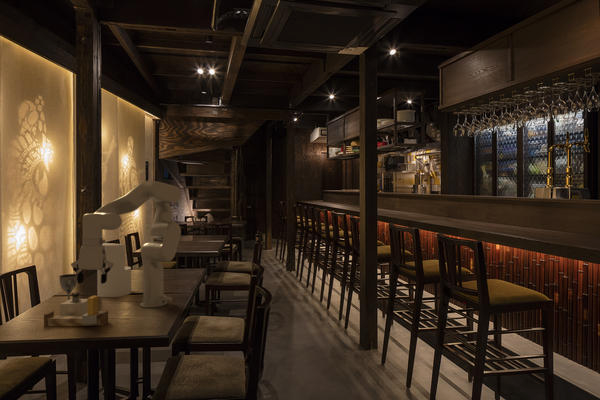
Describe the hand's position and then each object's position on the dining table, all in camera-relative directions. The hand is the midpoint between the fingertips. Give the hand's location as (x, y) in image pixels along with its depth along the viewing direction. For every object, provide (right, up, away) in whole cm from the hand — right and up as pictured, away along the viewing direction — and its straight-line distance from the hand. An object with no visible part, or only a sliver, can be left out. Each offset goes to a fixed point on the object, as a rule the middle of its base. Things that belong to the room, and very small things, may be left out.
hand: (92, 283), depth 174 cm
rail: (-7, -18, 0) cm, 19 cm away
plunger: (-13, -14, +11) cm, 22 cm away
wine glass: (-27, -18, +31) cm, 45 cm away
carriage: (0, -18, +1) cm, 18 cm away
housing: (-13, -18, +11) cm, 25 cm away
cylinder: (-16, -17, +56) cm, 61 cm away
